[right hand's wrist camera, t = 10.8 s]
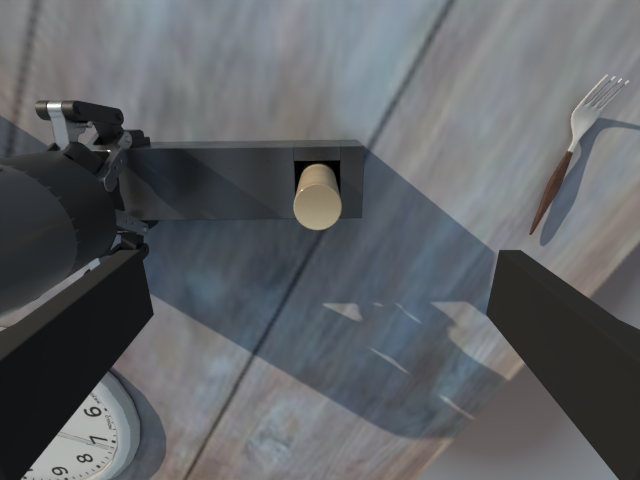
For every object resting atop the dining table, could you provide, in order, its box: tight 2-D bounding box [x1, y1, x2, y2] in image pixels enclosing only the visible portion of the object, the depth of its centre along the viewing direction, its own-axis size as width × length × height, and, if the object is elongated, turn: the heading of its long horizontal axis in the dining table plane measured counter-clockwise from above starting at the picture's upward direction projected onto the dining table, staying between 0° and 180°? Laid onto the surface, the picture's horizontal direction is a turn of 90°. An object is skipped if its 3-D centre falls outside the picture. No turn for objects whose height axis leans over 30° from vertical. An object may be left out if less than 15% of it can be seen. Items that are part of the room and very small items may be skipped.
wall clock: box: [0, 327, 140, 480], centre depth 47 cm, size 30×2×30 cm
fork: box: [530, 74, 629, 235], centre depth 34 cm, size 3×16×2 cm, turn 167°
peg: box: [294, 161, 342, 230], centre depth 29 cm, size 3×3×14 cm
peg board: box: [118, 140, 364, 221], centre depth 33 cm, size 24×6×6 cm, turn 91°
